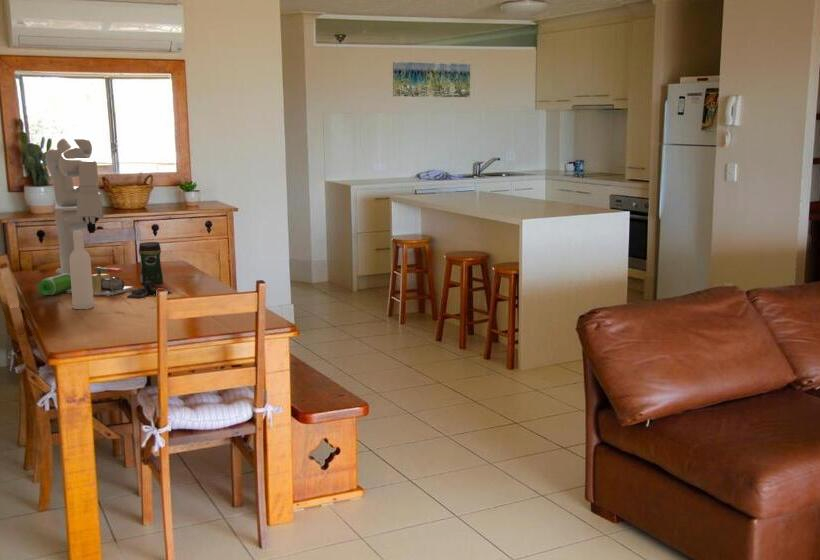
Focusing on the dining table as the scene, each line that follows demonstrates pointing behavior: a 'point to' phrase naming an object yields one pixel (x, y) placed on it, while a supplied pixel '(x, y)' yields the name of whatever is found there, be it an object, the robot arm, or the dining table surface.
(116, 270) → the lever
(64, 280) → the speaker
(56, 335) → the dining table surface
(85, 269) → the bottle
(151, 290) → the cloth
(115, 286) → the valve pipe
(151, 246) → the coffee jar
